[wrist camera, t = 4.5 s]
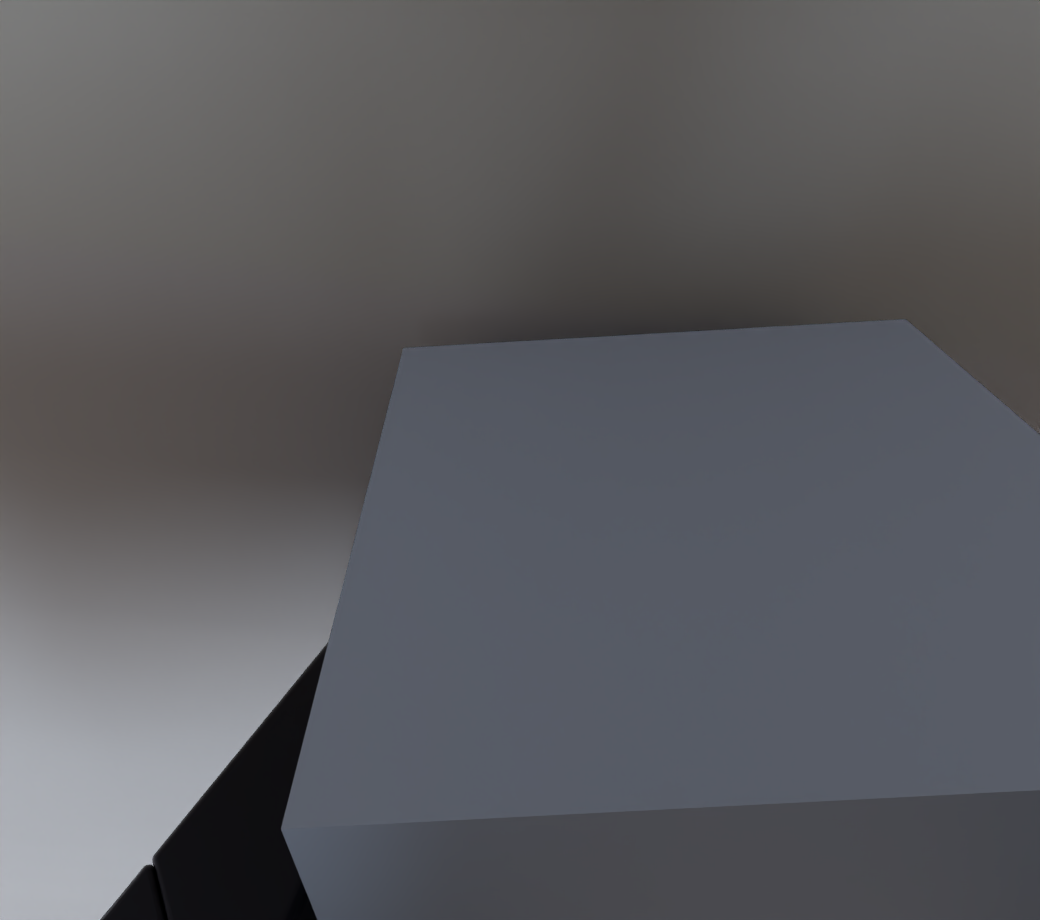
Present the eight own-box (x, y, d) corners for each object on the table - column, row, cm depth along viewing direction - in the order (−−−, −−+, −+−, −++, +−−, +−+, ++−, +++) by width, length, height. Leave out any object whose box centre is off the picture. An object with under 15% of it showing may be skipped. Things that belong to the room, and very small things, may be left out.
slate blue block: (453, 683, 10) (422, 1177, 6) (402, 347, 7) (281, 828, 3) (820, 664, 10) (1045, 1150, 6) (905, 318, 7) (1429, 769, 3)
